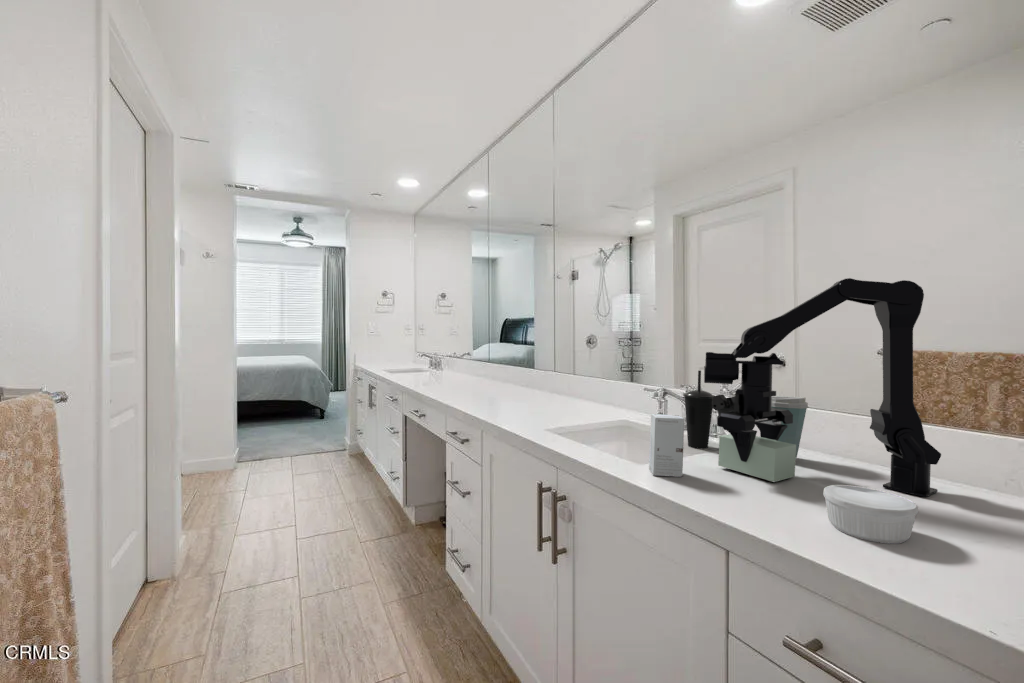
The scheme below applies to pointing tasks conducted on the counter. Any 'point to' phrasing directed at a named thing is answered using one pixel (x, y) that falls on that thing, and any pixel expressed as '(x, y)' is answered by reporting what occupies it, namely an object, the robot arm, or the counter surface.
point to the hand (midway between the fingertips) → (754, 458)
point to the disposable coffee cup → (798, 410)
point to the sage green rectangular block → (760, 458)
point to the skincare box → (666, 445)
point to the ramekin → (870, 513)
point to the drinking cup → (698, 416)
